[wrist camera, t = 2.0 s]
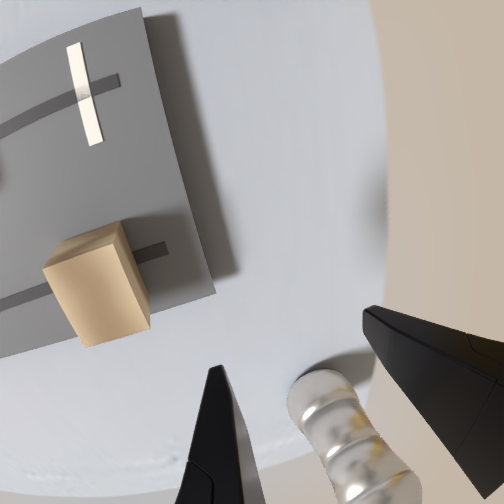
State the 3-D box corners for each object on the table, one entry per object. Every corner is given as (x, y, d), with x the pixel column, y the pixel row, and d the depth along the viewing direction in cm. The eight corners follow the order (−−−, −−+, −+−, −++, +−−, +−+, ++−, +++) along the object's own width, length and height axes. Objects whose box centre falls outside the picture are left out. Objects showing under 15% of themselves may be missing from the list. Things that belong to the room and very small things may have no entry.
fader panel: (142, 17, 14) (140, 6, 13) (210, 279, 22) (216, 294, 21) (-107, 157, 11) (-122, 162, 9) (-23, 351, 19) (-31, 367, 17)
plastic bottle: (321, 405, 32) (413, 549, 15) (268, 405, 30) (356, 579, 12) (351, 361, 31) (468, 511, 13) (297, 357, 28) (418, 546, 10)
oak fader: (120, 220, 17) (112, 243, 14) (149, 295, 19) (150, 328, 16) (59, 243, 16) (42, 269, 13) (92, 313, 18) (85, 348, 15)
